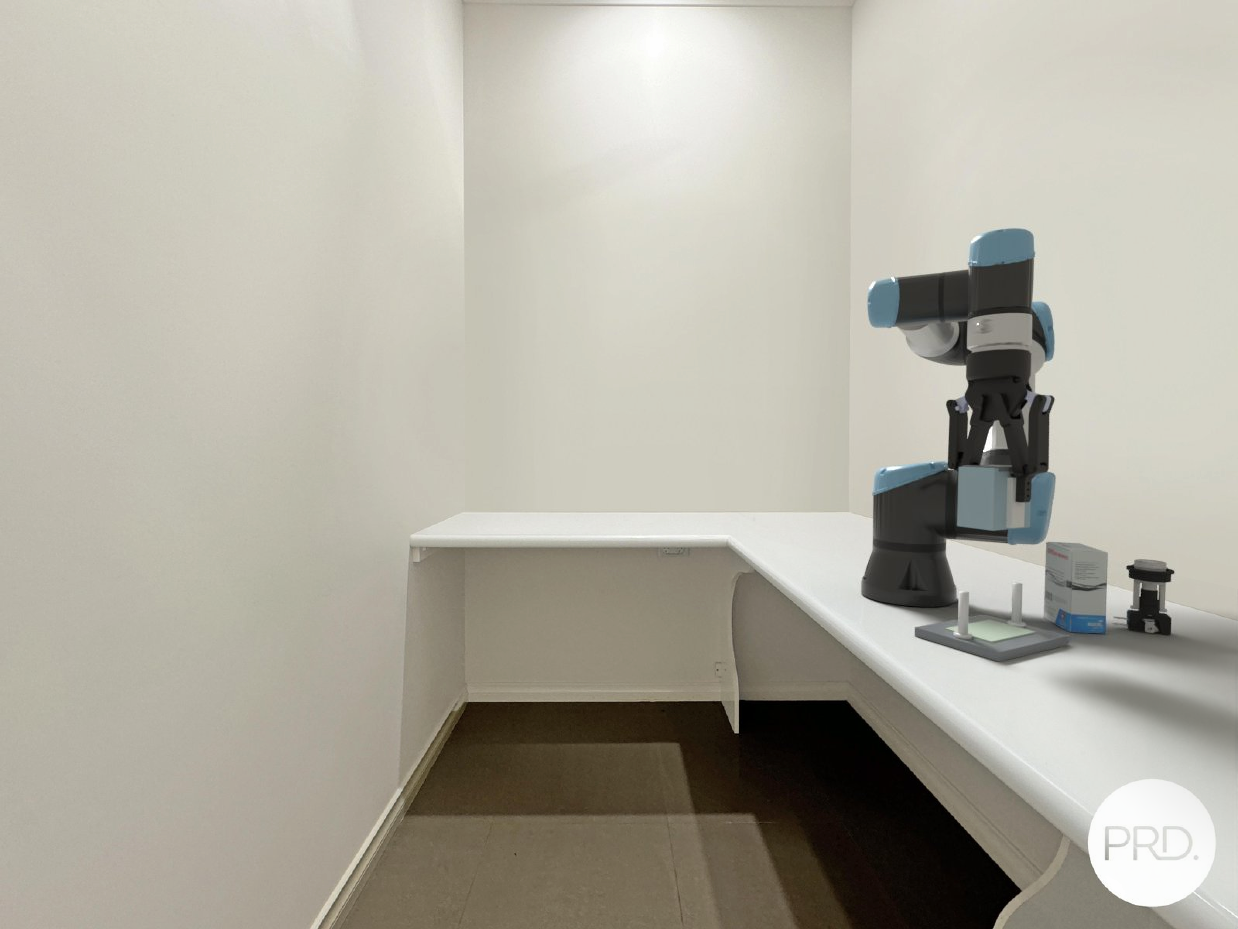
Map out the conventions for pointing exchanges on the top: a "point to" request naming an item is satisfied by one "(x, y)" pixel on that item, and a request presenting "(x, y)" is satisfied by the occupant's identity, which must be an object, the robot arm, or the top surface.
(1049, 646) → the pin tray
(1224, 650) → the top surface
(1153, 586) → the push button
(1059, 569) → the ink box
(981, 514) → the block
